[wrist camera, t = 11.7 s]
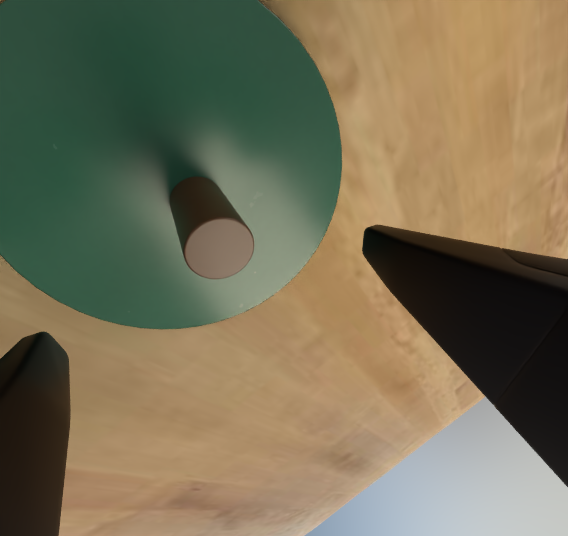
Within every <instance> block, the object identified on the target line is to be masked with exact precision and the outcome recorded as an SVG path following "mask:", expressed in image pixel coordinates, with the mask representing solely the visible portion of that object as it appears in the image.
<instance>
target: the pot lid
mask: <svg viewBox="0 0 568 536" xmlns="http://www.w3.org/2000/svg"><path fill="white" fill-rule="evenodd" d="M341 171H342V147H341V139H340V131H339V126H338V121H337V117H336V113H335V109H334V105H333V103H332V100H331V97H330V95H329V92H328V89H327V87H326V84H325V82H324V80H323V78H322V76H321V74H320V73H319V71H318V69H317V67H316V65H315V63H314V61H313V60H312V58H311V57H310V55H309V54H308V53H307V51H306V50H305V48H304V47H303V45H302V44H301V42H300V41H299V40H298V38H297V37H296V36H295V35H294V34H293V33H292V32H291V31H290V30H289V28H288V27H287V26H286V25H285V24H284V23H283V22H282V21H281V19H280V18H278V17H277V16H276V15H275V14H274V13H273V12H271V11H270V10H269V9H268V8H267V7H266V6H264V5H263V4H262V3H261V2H260V1H258V0H4V1H3V2H2V3H1V4H0V255H1V256H2V257H3V258H4V259H5V260H6V261H7V262H8V263H9V264H10V265H11V266H12V267H13V268H14V269H15V270H16V271H17V272H18V273H19V274H20V275H22V276H23V277H24V278H25V279H27V280H28V281H29V282H30V283H31V284H33V285H34V286H35V287H36V288H38V289H39V290H41V291H43V292H44V293H46V294H47V295H49V296H51V297H52V298H54V299H55V300H57V301H59V302H61V303H63V304H65V305H67V306H69V307H71V308H73V309H75V310H77V311H79V312H82V313H84V314H87V315H90V316H92V317H95V318H98V319H101V320H104V321H108V322H112V323H116V324H120V325H125V326H132V327H138V328H149V329H181V328H189V327H197V326H202V325H206V324H211V323H215V322H218V321H222V320H225V319H228V318H231V317H233V316H236V315H238V314H241V313H243V312H245V311H247V310H249V309H251V308H253V307H255V306H257V305H259V304H261V303H262V302H264V301H265V300H267V299H268V298H270V297H271V296H273V295H274V294H275V293H277V292H278V291H279V290H280V289H282V288H283V287H284V286H285V285H287V284H288V283H289V282H290V281H291V280H292V279H293V278H294V277H295V276H296V275H297V274H298V273H299V272H300V270H301V269H302V268H303V267H304V266H305V265H306V263H307V262H308V261H309V259H310V258H311V257H312V255H313V254H314V252H315V251H316V249H317V248H318V246H319V244H320V242H321V241H322V239H323V237H324V235H325V233H326V231H327V228H328V226H329V224H330V222H331V219H332V216H333V213H334V210H335V207H336V203H337V198H338V194H339V189H340V181H341Z"/></svg>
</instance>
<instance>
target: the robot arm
mask: <svg viewBox="0 0 568 536" xmlns="http://www.w3.org/2000/svg"><path fill="white" fill-rule="evenodd" d="M362 251H363V255H364V257H365V258H366V259H367V261H368V262H369V264H370V265H371V266H372V268H373V269H374V270H375V272H376V273H377V274H378V276H379V277H380V279H381V280H382V281H383V283H384V284H385V285H386V287H387V288H388V289H389V290H390V292H391V293H392V294H393V295H394V296H395V297H396V298H397V299H398V301H399V302H400V303H401V304H402V305H403V306H404V307H405V308H406V309H407V310H408V312H409V313H410V314H411V315H412V316H413V317H414V318H415V319H416V320H417V321H418V323H419V324H420V325H421V326H422V327H423V328H424V329H425V330H426V331H427V332H428V334H429V335H430V336H431V337H432V338H433V339H434V340H435V341H436V342H437V344H438V345H439V346H440V347H441V348H442V349H443V350H444V351H445V352H446V353H447V355H448V356H449V357H450V358H451V359H452V360H453V361H454V362H455V363H456V364H457V366H458V367H459V368H460V369H461V370H462V371H463V372H464V373H465V374H466V375H467V377H468V378H469V379H470V380H471V381H472V382H473V383H474V384H475V385H476V386H477V388H478V389H479V390H480V391H481V392H482V393H483V394H484V395H485V396H486V397H487V399H488V400H489V401H490V402H491V403H492V404H493V405H494V406H495V407H496V409H497V410H498V411H499V412H500V413H501V414H502V415H503V416H504V417H505V419H506V420H507V421H508V422H509V423H510V424H511V425H512V426H513V427H514V428H515V430H516V431H517V432H518V433H519V434H520V435H521V436H522V437H523V438H524V439H525V441H527V443H528V444H529V445H530V446H531V447H532V448H533V449H534V451H535V452H536V453H537V454H538V455H539V456H540V457H541V458H542V459H543V460H544V462H545V463H546V464H547V465H548V466H549V467H550V468H551V469H552V470H553V471H554V473H555V474H556V475H557V476H558V477H559V478H560V479H561V480H562V481H563V482H564V484H565V485H566V486H567V487H568V259H562V258H556V257H550V256H543V255H537V254H532V253H526V252H520V251H515V250H510V249H504V248H502V249H501V248H499V247H494V246H488V245H483V244H478V243H473V242H467V241H462V240H457V239H451V238H446V237H441V236H436V235H430V234H425V233H420V232H414V231H409V230H404V229H399V228H393V227H388V226H383V225H374V226H371V227H368V228H366V229H365V231H364V238H363V247H362ZM69 429H70V380H69V359H68V355H67V353H66V352H65V350H64V349H63V348H62V347H61V346H60V345H59V344H58V343H57V342H56V341H55V339H54V338H53V337H52V336H51V335H50V334H49V333H47V332H39V333H36V334H33V335H30V336H27V337H24V338H22V339H21V340H20V341H19V342H18V343H17V344H16V345H15V346H14V347H13V348H12V349H10V350H9V351H8V352H7V353H6V354H5V355H4V356H3V357H2V358H1V359H0V536H58V535H59V526H60V516H61V506H62V497H63V487H64V477H65V468H66V458H67V448H68V439H69Z"/></svg>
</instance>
